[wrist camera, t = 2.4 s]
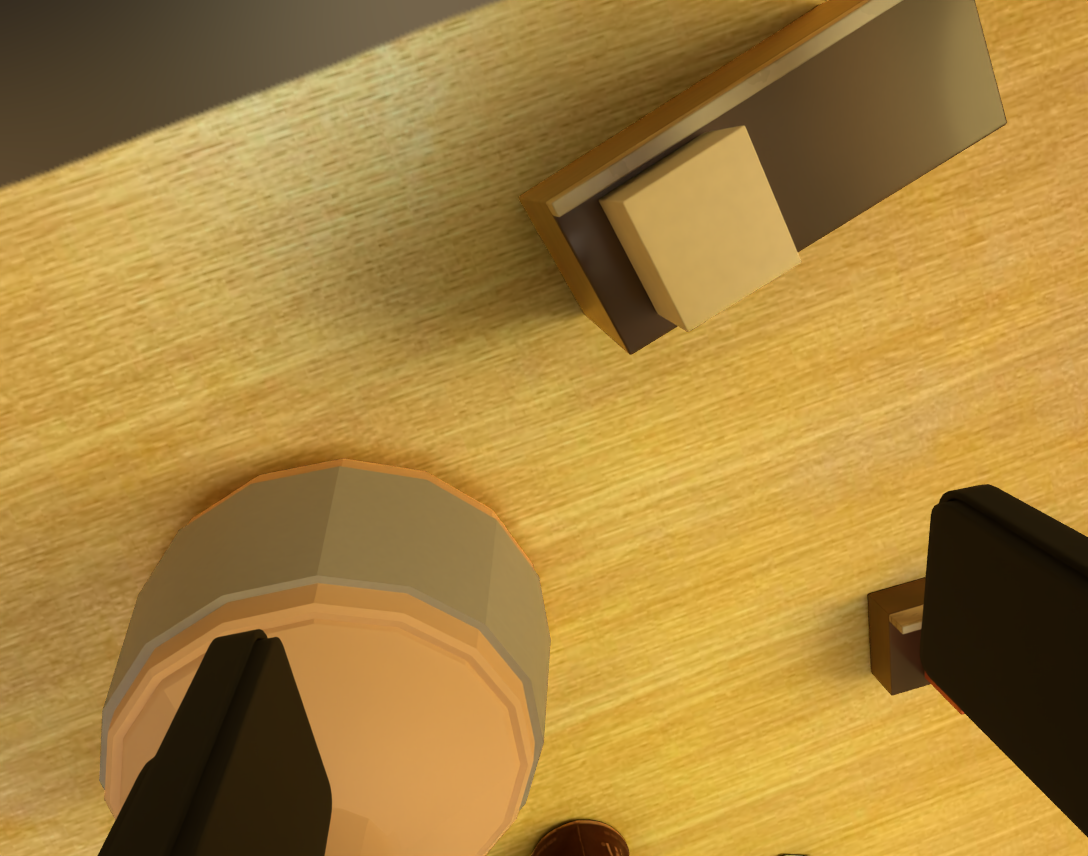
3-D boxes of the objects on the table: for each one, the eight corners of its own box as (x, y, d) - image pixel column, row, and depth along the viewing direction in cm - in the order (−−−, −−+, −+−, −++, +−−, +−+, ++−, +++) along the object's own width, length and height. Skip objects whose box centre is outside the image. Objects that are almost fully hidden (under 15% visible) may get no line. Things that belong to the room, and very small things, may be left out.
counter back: (871, 673, 42) (904, 710, 39) (867, 593, 39) (902, 627, 36) (1064, 615, 42) (1112, 648, 39) (1071, 535, 40) (1122, 563, 37)
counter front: (584, 314, 31) (640, 364, 23) (517, 197, 29) (550, 203, 20) (868, 138, 30) (1037, 120, 22) (821, 3, 28) (989, -75, 20)
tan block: (657, 315, 23) (688, 333, 20) (597, 199, 22) (621, 202, 19) (758, 252, 23) (802, 262, 20) (705, 131, 21) (745, 123, 19)
